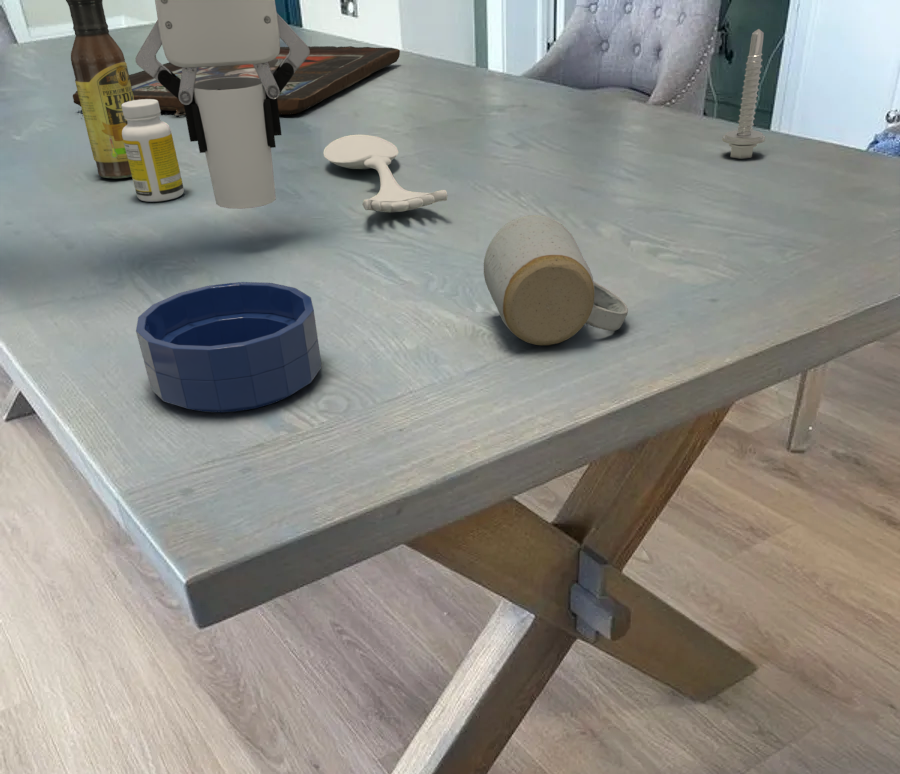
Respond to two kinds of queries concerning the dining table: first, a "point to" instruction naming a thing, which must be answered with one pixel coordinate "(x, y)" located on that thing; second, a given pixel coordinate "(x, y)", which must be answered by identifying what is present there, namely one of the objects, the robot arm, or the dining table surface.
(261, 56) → the robot arm
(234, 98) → the white cylindrical cup
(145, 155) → the supplement bottle
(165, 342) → the bowl
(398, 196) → the cream back scratcher
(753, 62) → the screw
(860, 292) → the dining table surface
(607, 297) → the ceramic mug
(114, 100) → the sauce bottle
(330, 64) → the religious icon
